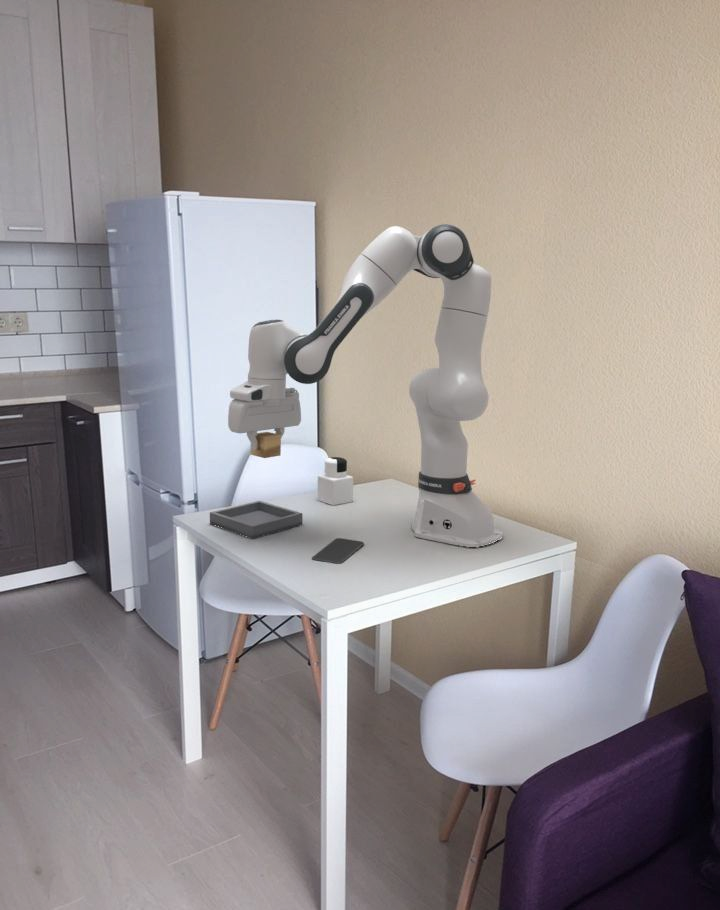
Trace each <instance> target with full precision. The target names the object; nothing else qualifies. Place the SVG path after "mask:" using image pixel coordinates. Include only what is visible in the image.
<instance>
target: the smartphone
mask: <svg viewBox="0 0 720 910" xmlns="http://www.w3.org/2000/svg"><path fill="white" fill-rule="evenodd" d="M364 546H365V542H364V541H361V540H356V539H355V540H354V539H348V538H342V537H339V538H335V539H333V540H332V541H330V543H328V544H327V545H325V546H324V547H323V548H322V549H320V550H319V551H318V552H317V553H315V554H314V555H313V556H311V560H312V561H315V562H316V561H317V562H322V563H323V562H324V563H328V564H336V565H342V564H343V563H345V562H346V561H347V560H349V559H350V558H351V557H352V556H353V555H354V554H356V553H357V552H359V550H361V549H362V548H364Z"/></svg>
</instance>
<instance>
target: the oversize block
mask: <svg viewBox="0 0 720 910" xmlns="http://www.w3.org/2000/svg"><path fill="white" fill-rule="evenodd" d="M275 433H276V432H275ZM275 433H274V432H269V431H260V432H257V436H255V437H256V439H257V442H260V449H259V450H252V449H251V448H250V456H253V457H259V458H262V459H269V458H273V457H280V456H281V455H282V454H281V452H282V451H281V447H282V443H281V442H282V438H281V435H279V434H275Z"/></svg>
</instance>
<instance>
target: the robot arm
mask: <svg viewBox="0 0 720 910" xmlns="http://www.w3.org/2000/svg"><path fill="white" fill-rule="evenodd" d="M470 247H471V246H470V243H469V241H468V238H467V236H466V235H465V233H464V231H462V230H461V228H459V227H457V226H456V225H455V226H454V225H452V224H445V223H444V224H438V225H436V226H434V227H432V228H431V229H429V230H428V231H426V232H425V233H424V234H422V235H419V236H418V235H414V234H413V233H412V232H411V231H409V230H407V229H406V228H405V227H402V226H398V225H393V226H390V227H388V228H386V229H385V230H384V231H382V232H381V233H380V234H378V236H377V237H376V238H374V239H373V240H372V241H371V242H370V243H369V244H368V245H367V246H366V247H365V248H364V249H363V251H362V252H361V253H360V254H358V256H357V258H356V259H355V260H354V261H353V263H352V264H351V266H350V268H349V269H348V271H347V273H346V274H345V276H344V277H343V281H342V287H341V292H340V294H339V297H338V299H337V301H336V303H335V304H334V305H333V307H332V308H331V310H329V312H328V313H327V315H326V316H325V317H324V318H323V319H322V321H321V322H320V323H318V325H317V326H316V328H315V329H314V330H313V331H311V332H310V333H309V334H306V333H304V332H301V331H300V330H297V329H296V328H294V327H292V326H290V325H288V324H287V323H286V322H285V321H284V320H282V319H271V320H270V319H269V320H264V321H259V322H256V323H255V324H254V325H253V326H252V327H251V329H250V332H249V339H248V352H247V353H248V354H247V355H248V356H247V358H248V362H249V370H248V373H247V381H245V382H243V383H242V384H240V385H237V386H236V387H233V388H232V389H230V391H229V397H230V399H232V400H231V401H230V403H229V406H228V414H227V416H228V417H227V418H228V419H227V423H228V424H227V426H228V429H229V430H230V432H232V433H235V434H245V433H246V437H247V439H248V440H249V442H250V450H251V449H252V450H259V449H260V442H257V439H256V437H255V436H257V433H258V432H263V431H269V430H274V432H275V434H279V435H281V439H282V438H283V436H284V435H285V431H286V430H285V428H291V427H298V426H300V424H301V421H302V409H301V401H300V393H299V391H298V389H296V388H295V387H289V388H287V386H286V384H287V374H288V376H289V377H290V378H291V379H292V380H294V381H296V382H297V383H300V384H303V385H312V384H315V383H317V382H319V381H321V380H322V379H323V378H324V377H325V376H326V375H327V373H328V371H329V369H330V367H331V364H332V361H333V360H332V359H333V357H334V355H335V352H336V350H337V349H338V347H339V346H340V345H341V344H342V342H343V341H344V340H345V338H346V337H347V336H348V335H349V334H350V332H351V331H352V330H353V329H354V327H355V326H356V325H357V324H358V323H359V322H360V320H361V319H362V318H363V317H365V315H367V314H368V313H370V312H371V311H372V310H373V309H374V308H376V307H377V306H378V305H379V304H380V303H381V302H383V301H384V300H385V299H386V298H387V297H388V296H389V295H390V294H391V293H392V292H393V291H394V290H395V288H396V287H397V286H398V285H399V284H400V283H401V281H402V280H403V279H404V278H405V277H406V275H408V274H409V273H410V272H412V271H415V272H417V273H418V274H419V273H420V274H421V275H424V276H425V277H427V278H430V279H440V280H441V281H442V284H443V298H442V302H441V306H440V312H439V316H438V321H437V327H436V332H435V336H434V343H435V346H436V348H437V352H438V362H439V363H438V364H439V367H433V368H431V367H430V368H426V369H422V370H420V371H418V372H416V373H415V374H414V375H413V376H412V378H411V380H410V382H409V383H410V384H409V385H408V386H409V388H408V393H409V396H410V399H411V401H412V402H413V404H414V407H415V411H416V416H417V421H418V426H419V434H420V440H421V443H420V445H421V449H420V454H421V455H420V471H419V472H418V481H417V487H418V500H417V505H416V511H415V516H414V519H413V523H412V525H411V529H412V531H413V532H414V537H416V538H420V539H424V540H429V541H434V542H439V543H445V544H450V545H454V546H458V545H459V546H458V547H463V546H466V547H465V548H469V547H476V548H478V547H477V546H482V545H486V544H489V543H492V542H494V541H496V540H498V539H500V538H501V537H502V536H503V537H504V532H503V531H501V530H498V529H495V522H494V515H493V512H492V510H491V509H490V508H489V507H488V506H487V505H486V504H485V503H484V502H483V501H482V500H481V499H480V498H479V497H478V496H477V495H476V494H475V493H474V492H473V488H472V486H473V485H476V482H475V481H476V479H471V480H470V477H469V475H468V473H467V472H468V471H467V465H468V447H469V443H468V440H467V437H466V436H465V433H464V432H463V429H462V425H461V422H466V421H467V422H468V421H474V420H476V419H478V418H479V417H481V416H482V415H483V414H484V412H485V411H486V410H487V407H488V404H489V393H488V392H489V391H488V389H487V388H486V386H485V383H484V379H483V375H482V374H483V371H482V345H483V341H484V335H485V331H486V326H487V321H488V315H489V311H490V305H491V294H492V277H491V274H490V273H489V271H488V270H486V268H484V267H483V266H481V265H478V264H476V263H475V264H474V261H475V260H474V257H473V254H472V251H471V248H470ZM498 535H499V536H498Z"/></svg>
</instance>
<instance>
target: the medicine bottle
mask: <svg viewBox="0 0 720 910" xmlns="http://www.w3.org/2000/svg"><path fill="white" fill-rule="evenodd" d="M347 471H348V461H347V459H345V458H343V457H341V456H332V457H328V458H326V459H325V460H324V473H322V474H318V475H317V501H319V502H322V503H325V504H328V505H330V506H337V505H343V504H348V503H352V502H354V476H352V475H349V474H347Z"/></svg>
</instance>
